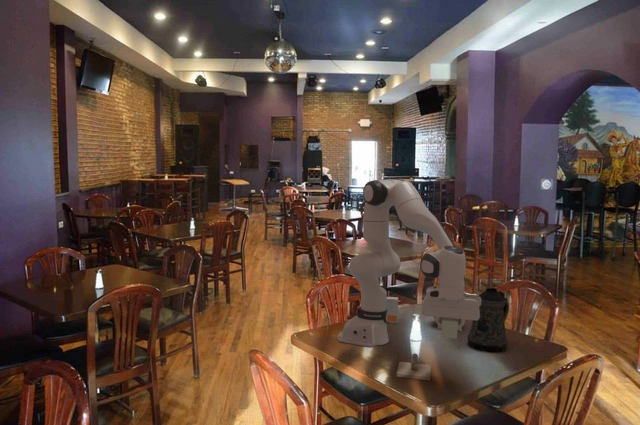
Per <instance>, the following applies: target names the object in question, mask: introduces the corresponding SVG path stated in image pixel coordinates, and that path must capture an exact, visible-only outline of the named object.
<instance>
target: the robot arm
mask: <svg viewBox="0 0 640 425" xmlns="http://www.w3.org/2000/svg"><path fill="white" fill-rule="evenodd" d="M362 196H363V200H364V208H363V215H362V217H363V218H362V219H363V220H362V237H363V239H364V241H365V242H367V243H368V244H369V245H370V249H371V252H366V253H365V252H364V253H360V254H358V255H356V256H353V257H352V258H351V259H350V260H349V265H348V270H349V272H350V275H351V276H352V277H353V278H354V279H355V280H356V281H357V282H358V285H359V288H360V297H361V298H360V305H358V306H356V312H355V316H354V317H352V318H351V319H348V320H347V321H346V322H345V324H344V325H343V329H342V331H340V332H339V333H338V334H337V337H336V338H337V341H338V342H339V343H344V344H345V343H346V344H350V345H355V346H357V345H358V346H362V347H367V348H373V347H375V346H382V345H386V344H388V343H389V342H390V339H389V336H388V328H387V323H388V322H387V309H386V304H387V297H388V293H387V290H386V289H385V288H384V287H382V286H381V284H380V280H379V279H380V278H382V277H384V278H385V277H388V276H391V275H393V274H396V273H398V272H399V270H400V268H401V259H400V257H399V255H398V254H397V253H396V252H395V251H394V249H393V248H392V244H391V241H390V209H391V208H392V207H394V209H395V211H396V213H397V216H398V219H399V221H401V223H402V224H403V226H404V227H407V228H408V229H410V230H413V231H417V232H421V233H424V234H426V235H428V236H429V237H430V238H432V240H433V242H434V243H435V245H436V246H437V248H438V250H436V251H431V252H427V253H425V254H423V255H422V256H421V260H420V263H419V264H420V265H419V266H420V271H421V273H422V275H423V276H425V277H426V278H427V279H438V281H439V282H438V285H434V286H429V287H427V288H426V290H425V291H426V292H425V293H426V295H425V296H424V298H423V302H422V307H421V314H422V315H423V316H424V317H433V318H434V317H435V319H434V320H435V322H436V324H438V325H437V330H442V323H440V322H439V317H443V318H454V319H461V322H460V324H459V325H458V330H457V332H462V327H463V326H464V324H465V323H466V320H467V321H473V320H475V321H477V320H478V319H479V318H480V311H479V306H480V305H481V297H480V296H478V295H479V294H477V293H469V292H465V284H466V283H465V276H466V275H465V274H466V269H467V265H468V264H467V263H468V262H467V258H466V252H465V251H464V249H462V248H461V247H458V246H456V245H455V243H454V240H452V238H451V236H450V235H449V233H448V232H447V230H446V229H445V227H444V225H443V224H442V222H441V221H440V220H439V219H438V218H437V217H436V216H435V215H434V214H433V213H432V212H431V211H430V210H429V209H428V207H427V206H426V204H425V202H424V200H423V199H422V197H421V194H420V193H419V192H418V190H417V188H416V187H415V185H414V184H413V183H412V182H411V181H408V180H405V179H391V178H390V179H389V178H388V179H378V180H377V179H373V180H369V181H367V182H366V184H365V185H364V187H363V190H362ZM477 296H478V297H477Z"/></svg>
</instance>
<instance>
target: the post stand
mask: <svg viewBox="0 0 640 425" xmlns="http://www.w3.org/2000/svg"><path fill="white" fill-rule="evenodd" d="M410 358H411V360H410V361H411V362H407V361H406V362H405V361H399V363H398V365H397V370H396V377H398V378H406V379H414V380H424V381H431V373H432V372H431V371H432V365H431V364H426V363H425V364H424V363H419V355H418V353H415V352H414V353H412V355H411V357H410Z"/></svg>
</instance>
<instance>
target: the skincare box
mask: <svg viewBox="0 0 640 425" xmlns="http://www.w3.org/2000/svg"><path fill="white" fill-rule="evenodd" d="M398 307H399V297H398V296H395V297H394V296H387V304H386V309H387V322H386V323H391V324H398V313H399V312H398V310H399V308H398Z"/></svg>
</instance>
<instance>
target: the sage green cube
mask: <svg viewBox="0 0 640 425" xmlns="http://www.w3.org/2000/svg"><path fill="white" fill-rule="evenodd" d="M457 330H458V319H454V318H443V317H442V329H441V336H440V337H441V338H448V339H458V331H457Z"/></svg>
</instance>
